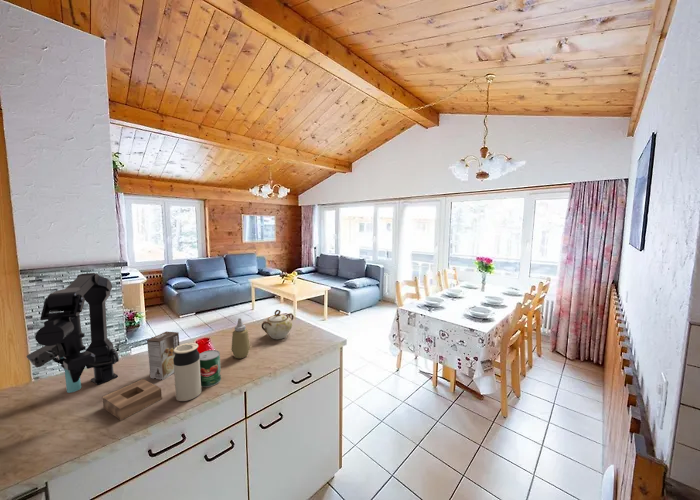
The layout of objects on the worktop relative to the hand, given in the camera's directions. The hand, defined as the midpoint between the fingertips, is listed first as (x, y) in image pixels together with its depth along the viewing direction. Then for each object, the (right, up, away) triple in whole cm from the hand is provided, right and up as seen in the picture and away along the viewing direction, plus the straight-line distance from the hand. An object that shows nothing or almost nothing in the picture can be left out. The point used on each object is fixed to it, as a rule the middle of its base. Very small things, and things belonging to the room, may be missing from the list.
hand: (73, 380), depth 86 cm
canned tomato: (+31, -11, +22) cm, 40 cm away
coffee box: (+11, -10, +28) cm, 31 cm away
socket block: (+12, -12, +9) cm, 19 cm away
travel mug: (+28, -12, +14) cm, 33 cm away
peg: (0, -3, 0) cm, 3 cm away
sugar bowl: (+47, -7, +64) cm, 80 cm away
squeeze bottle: (+36, -9, +42) cm, 56 cm away
